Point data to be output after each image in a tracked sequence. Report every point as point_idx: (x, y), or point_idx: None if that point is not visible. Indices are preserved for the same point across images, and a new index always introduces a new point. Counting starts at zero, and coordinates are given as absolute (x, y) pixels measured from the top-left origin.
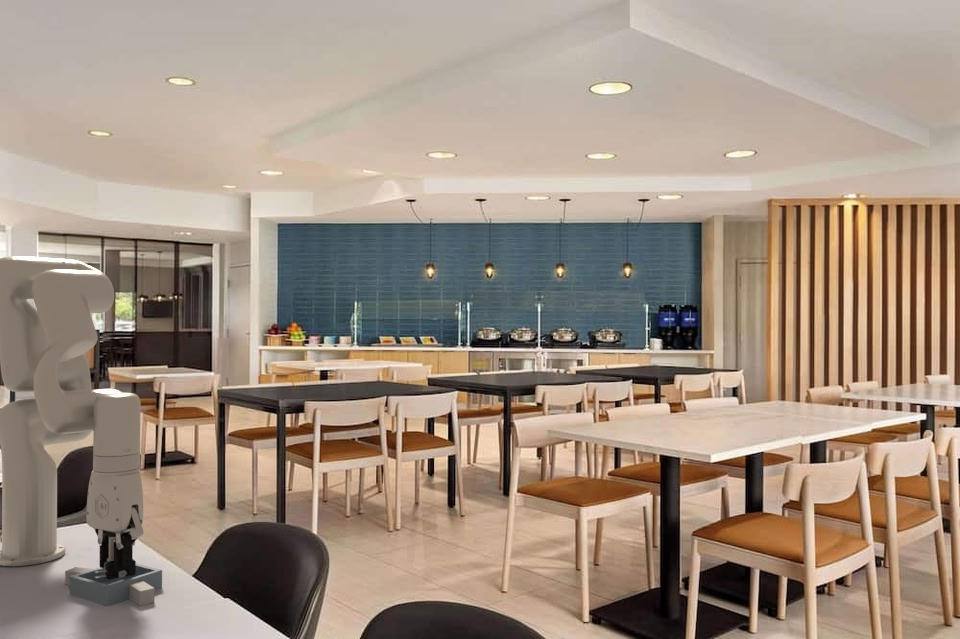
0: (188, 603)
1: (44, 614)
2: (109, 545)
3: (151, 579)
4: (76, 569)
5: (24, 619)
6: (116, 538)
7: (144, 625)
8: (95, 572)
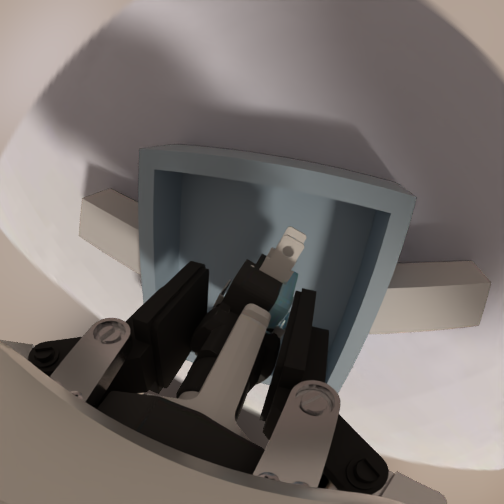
0: (62, 244)
1: (302, 9)
2: (227, 371)
3: None
4: (464, 308)
5: None
6: (103, 371)
7: (42, 116)
8: (294, 238)
